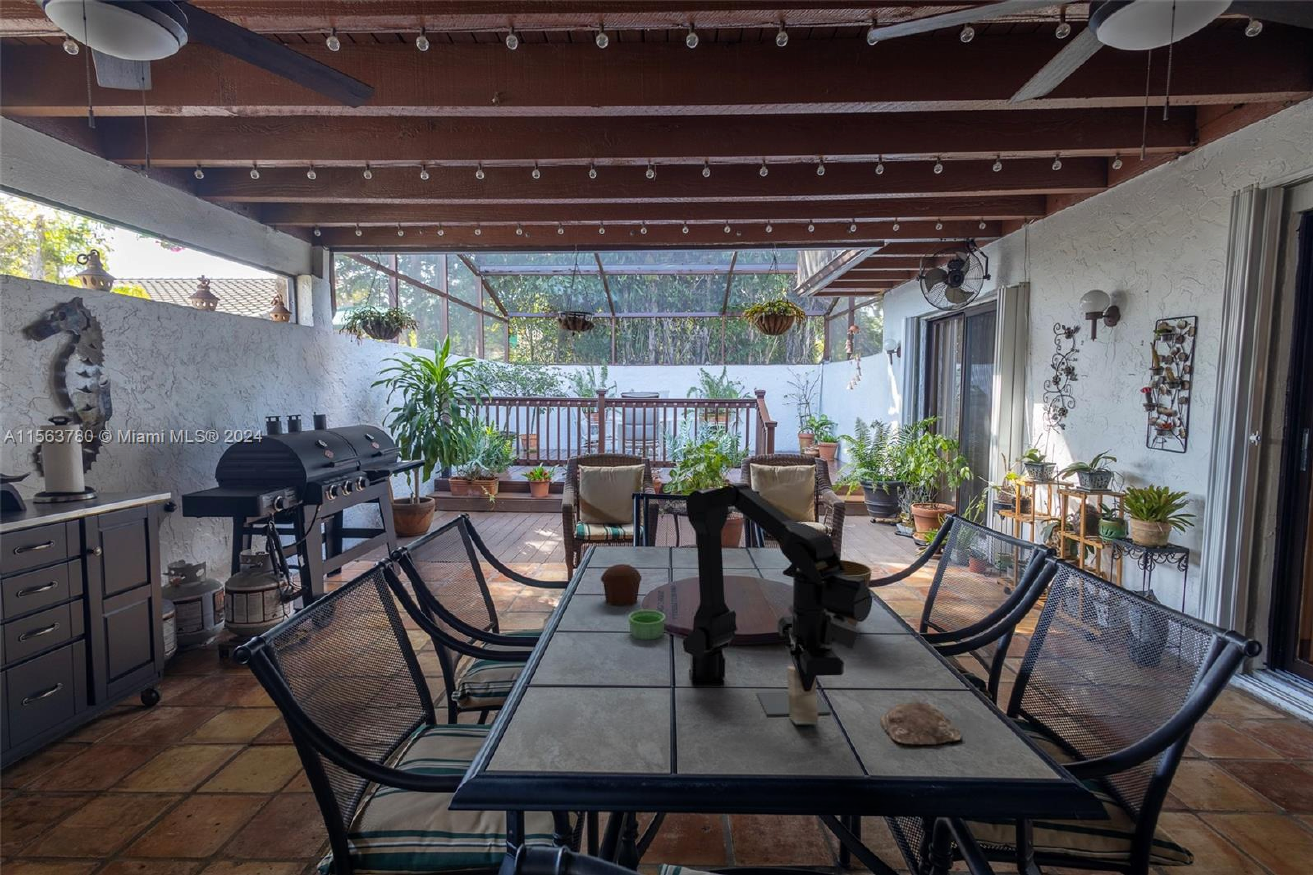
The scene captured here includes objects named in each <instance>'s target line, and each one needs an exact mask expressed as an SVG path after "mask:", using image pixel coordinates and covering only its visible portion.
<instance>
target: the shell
mask: <svg viewBox="0 0 1313 875" xmlns="http://www.w3.org/2000/svg"><path fill="white" fill-rule="evenodd" d="M880 722H881V726H882V729H883V728H884V729H883V731H884V730H885V731H884V732H885V733H886V732H887V733H886V734H887V735H888V736H889V738H891V739H892V740H893V742H895V744H898V745H906V746H912V747H913V748H926V747H927V748H928V747H933V748H934V747H940V746H941V747H942V746H951V745H958V744H959V743H961V742H962V739H963V738H962V734H961V732H960V731H959V729H958V728H957V727H956V726H955V724H954V723H953V722H952V721H951V720H950V719H949V718H948V717H947V716H945V715H944V714H943V713H942V712H941V711H940V710H939V709H937V708H936V707H935V706H933V705H930V704H927V703H924V702H919V701H918V702H917V701H912V702H911V701H910V702H905V703H900V704H898V705H895V706H893V707H891V708H889V709H888V710H887V711H885V713H884V714H883V715H882V716H881V718H880ZM947 742H948V743H947Z"/></svg>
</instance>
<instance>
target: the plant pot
mask: <svg viewBox="0 0 1313 875" xmlns="http://www.w3.org/2000/svg"><path fill="white" fill-rule="evenodd" d="M840 561H841V562H842V564H843V566H844V568H845V570H846V573H845V574H842V575H846V576H850V577H854V578H862V579H865V580H866V587H867V588H868V589H869V587H870V583H871V578H872V571H873V570H872V568H871V567H869V565H866V564H864V563H860V562H856V561H851V560H845V559H840ZM827 566H828V565H827V564H823V565H820V566H817V569H818V570H819V569H822V568H825V567H827ZM826 612H827V613H828V614H829V613H830V612H828V611H827V610H826ZM844 620H845V621H848V622H849V623H850V624H852V625H853V626H854V627H855V628H856V627H857V625H858V623H859V622H858V621H855V620H852V619H849V618H846V617H844Z"/></svg>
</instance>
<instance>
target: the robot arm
mask: <svg viewBox="0 0 1313 875" xmlns="http://www.w3.org/2000/svg"><path fill="white" fill-rule="evenodd" d="M685 505H686V513H687V518H688V522H689V523H690V525H691V527H692V528H693V530H694V531H695V534H696V545H697V546H696V547H697V548H696V549H697V566H698V567H697V568H698V586H699V587H698V588H699V606H698V607H697V610H696V611H695V615H694V617H693V625H692V632H691V633H690V634H689V635H688V636H687V637H686V638H685V639H683V640H682V646H683V651H684V652H685V653H687V654H689V655H690V658H689V659H690V662H689V663H690V668H689V669H688V674H689V678H690V681H691V685H692V686H693V687H694V686H699V687H700V686H723V685H725V681H724V678H725V677H726V658H725V655H724V652H723V649H726V648H727V649H728V648H729V646H730V643H731V641H732V640H733V639H734V638H735V636H736V632H737V631H738V626H737V621H736V620H737V619H736V618H737V613H736V611H735V610H730V608H729V607H728V605H727V604H726V601H725V587H724V586H725V585H724V583H725V582H724V565H723V564H724V563H723V548H722V546H723V544H722V531H723V529H724V527H725V524H726V523H727V519H728V514H729V513H728V512H729V508H730V507H734V508H735V509H736V510H737V511H738V512H740V513H741V514H743V515H744V517H746V518H747V519H749V520H750V521H751V522H752V523H754V524H755V525H756V526H757V527H759V528H760V529H761V530H762V531H763V532H765V533H766V534H767V535H769V536H770V537H771V538H772V539H774V540H775V541H776V543H777V544H778V546H779V549H780V551H781V553H782V554H783V556H785V558H786V559H787V560H788V561H789V562H790V563H791V564H789V567H787V568H786V569H784V570H783V571H782V575H784V576H787V577H790V578H793V582H792V605H788V606H789V607H788V610H789V611H788V612H789V613H790V615H791V616H782V617H781V618H780V619H778V621H777V632H778V634H779V635H780V637H785V636H786V632H787V631H788V636H789V638H790V643H788V644H786V646H785V647H786V649H787V651H788V655H789V657H790V659H791V662H792V664H793V667H795V669H796V672H797V675H798V677H799V680H800V683H801V685H802V688H803V690H804V691H805V692H809V691H810V690H811V688H812V685H813V683H814V680H815V677H816V676H818V677H819V676H824V677H825V676H842V675H844V670H845V668H844V667H845V662H844V661H843V660H842V658H841V657H840V656H839V655H838V654H837V652H836V651H835V650H833V648H828V647H826V646H832V644H833V643H836V644H839V645H841V646H845V647H846V648H848V649H851V650H854V648H855V646H856V644H857V643H856V642H857V640H858V638H859V635H860V633H861V632H860V631H859V630H858V629H857V628H856V627H854V626H853V625H852V624H850V623H849V622H848V621H845V620H844V617H846V618H849V619H852V620H855V621H858V623H862V622H864V621H865V620H867V618H868V617H869V615H870V612H871V609H872V605H873V596H872V594H871V591H870V589H869V588H867V587H866V580H865V579H862V578H854V577H850V576H846V575H842V574H845V573H846V570H845V568H844V566H843V564H842V562H841V561H840V560H841V559H840V558H839V555H838V554H837V552H836V550H835V548H834V545H833V540H832V538H831V537H830V536H829V535H828V534H827V533H825V532H823V531H821V530H819V529H817V528H815V527H814V526H811V525H807V524H806V523H805V524H804V523H801V522H798V521H796V520H794V519H792V518H791V517H789V516H788V515H787V514H786V513H785V512H783V511H782V510H780V509H779V507H777V506H775V505H774V504H772V503H771V502H770V501H768V500H767V499H766V498H764V497H763V496H761V495H760V494H759V493H758V492H756V491H755V490H754V489H752V486H751V485H750V484H748V483H746V482H737V483H731V484H727V485H726V486H723V487H712V488H711V487H710V488H704V489H698V490H693V491H691V492H690V493H689V494H688V496H686V500H685ZM823 564H827V565H828V566H827V567H825V568H822V569H819V570H818V569H817V566H820V565H823ZM826 610H827V611H828V612H830V613H829V614H828V613H827V612H826ZM832 642H833V643H832ZM816 678H817V677H816Z"/></svg>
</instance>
